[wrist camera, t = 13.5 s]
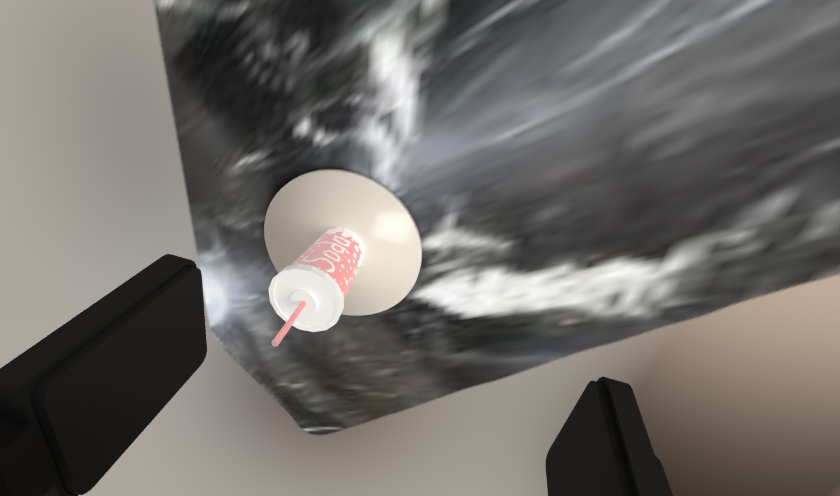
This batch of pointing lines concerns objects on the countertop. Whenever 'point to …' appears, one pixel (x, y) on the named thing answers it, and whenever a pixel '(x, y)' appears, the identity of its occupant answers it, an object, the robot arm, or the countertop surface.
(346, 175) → the dish
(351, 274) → the beverage cup
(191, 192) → the countertop surface
